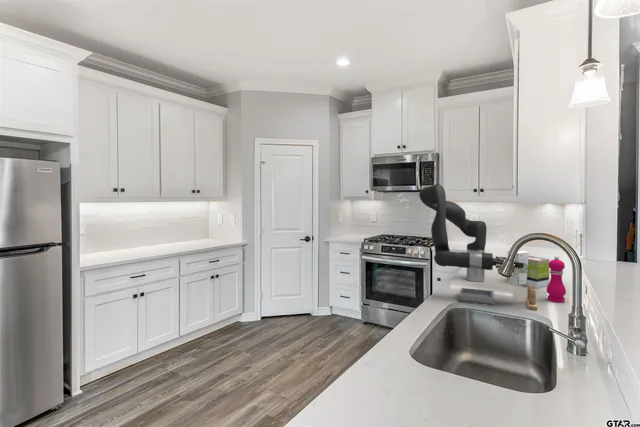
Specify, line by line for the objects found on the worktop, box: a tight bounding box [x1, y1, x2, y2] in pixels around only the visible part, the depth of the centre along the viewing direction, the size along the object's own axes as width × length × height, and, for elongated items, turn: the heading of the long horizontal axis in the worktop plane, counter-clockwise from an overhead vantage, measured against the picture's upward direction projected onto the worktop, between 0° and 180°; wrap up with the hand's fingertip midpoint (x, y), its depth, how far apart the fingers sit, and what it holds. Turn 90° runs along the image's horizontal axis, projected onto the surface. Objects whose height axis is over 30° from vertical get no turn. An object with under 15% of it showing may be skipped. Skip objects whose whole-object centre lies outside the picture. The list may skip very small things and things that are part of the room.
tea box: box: [524, 255, 550, 290], centre depth 185 cm, size 15×10×15 cm, turn 25°
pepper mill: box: [546, 255, 567, 303], centre depth 156 cm, size 7×7×20 cm
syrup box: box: [506, 249, 529, 286], centre depth 152 cm, size 6×6×14 cm
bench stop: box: [525, 285, 538, 311], centre depth 150 cm, size 14×3×8 cm, turn 154°
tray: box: [458, 287, 495, 306], centre depth 160 cm, size 14×14×3 cm
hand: (522, 263), depth 151 cm, fingers closed on syrup box, 8 cm apart
